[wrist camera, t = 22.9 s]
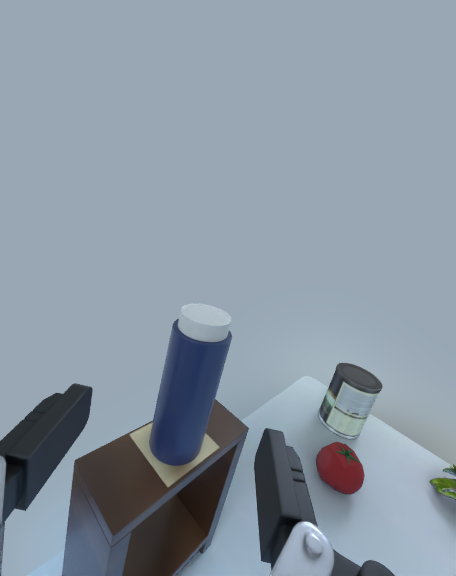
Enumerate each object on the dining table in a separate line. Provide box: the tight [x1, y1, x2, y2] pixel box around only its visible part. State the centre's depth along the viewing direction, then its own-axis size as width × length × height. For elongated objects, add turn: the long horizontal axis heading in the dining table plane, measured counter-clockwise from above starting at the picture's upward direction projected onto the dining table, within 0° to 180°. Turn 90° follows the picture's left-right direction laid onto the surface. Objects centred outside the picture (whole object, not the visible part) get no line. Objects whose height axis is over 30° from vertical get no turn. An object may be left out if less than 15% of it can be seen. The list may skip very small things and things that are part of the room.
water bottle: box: [149, 304, 232, 466], centre depth 24 cm, size 5×5×14 cm
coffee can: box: [318, 363, 382, 439], centre depth 64 cm, size 10×10×14 cm
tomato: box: [316, 442, 364, 494], centre depth 49 cm, size 8×8×7 cm
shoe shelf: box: [62, 399, 249, 576], centre depth 29 cm, size 16×7×20 cm, turn 138°
